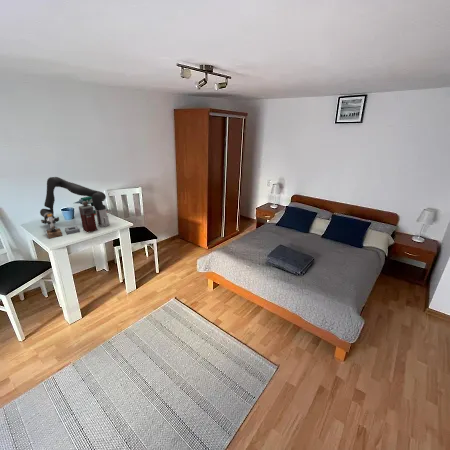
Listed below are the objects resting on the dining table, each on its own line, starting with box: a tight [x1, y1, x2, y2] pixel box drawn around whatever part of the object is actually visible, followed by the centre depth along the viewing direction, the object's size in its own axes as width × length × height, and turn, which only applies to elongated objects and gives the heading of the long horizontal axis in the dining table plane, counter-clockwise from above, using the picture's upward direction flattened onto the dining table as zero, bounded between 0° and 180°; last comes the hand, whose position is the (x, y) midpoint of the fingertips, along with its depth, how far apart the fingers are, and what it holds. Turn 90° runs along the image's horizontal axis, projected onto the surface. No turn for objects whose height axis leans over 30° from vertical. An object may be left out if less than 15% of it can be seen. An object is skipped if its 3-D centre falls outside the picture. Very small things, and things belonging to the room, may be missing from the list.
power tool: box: [74, 196, 108, 216], centre depth 264 cm, size 32×7×20 cm, turn 143°
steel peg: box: [47, 214, 56, 232], centre depth 211 cm, size 3×3×16 cm
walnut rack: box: [46, 227, 63, 239], centre depth 215 cm, size 10×10×4 cm
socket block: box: [64, 225, 80, 235], centre depth 224 cm, size 10×10×3 cm
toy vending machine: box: [78, 201, 98, 233], centre depth 223 cm, size 9×11×28 cm
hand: (51, 223), depth 209 cm, fingers closed on steel peg, 3 cm apart
